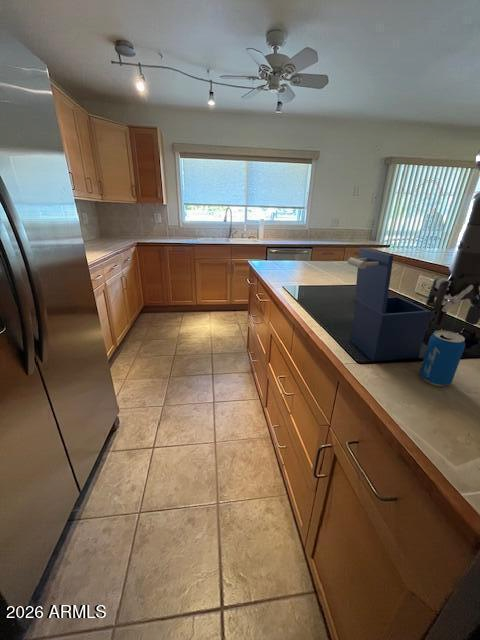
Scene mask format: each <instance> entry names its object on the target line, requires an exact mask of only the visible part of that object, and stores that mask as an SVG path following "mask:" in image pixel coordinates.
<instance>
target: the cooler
mask: <svg viewBox="0 0 480 640" xmlns="http://www.w3.org/2000/svg"><path fill="white" fill-rule="evenodd" d="M432 314H433V310H432V311H431V310H430V309H427V308H425V307H423V306H421V305H418V304H416V303H414V302H412V301H410V300H408V299H405V298H403V297H401V296H399V295H397V296H388V298H387V304H386V311H385V313H380V312H378V311H377V310H375V309H373V308H372V307H370V306H368V305H367V304H365V303H363V302H362V301H360V300H358V299H357V298H355V305H354V310H353V315H352V316H353V318H352V322H351V328H350V333H349V341H350V342H351V343H352V344H353V345H354V346H355V347H356V348H357V349H358V350H359V351H360V352H362V353H363V354H364V355H365V356H366V358H368V359H370V361H372V362H373V363H374V362H383V361H393V360H395V361H396V360H404V359H414V358H419V356H420V353H421V349H422V345H423V344H424V340H425V337H426V332H427V329H428V326H429V323H430V320H431V317H432Z"/></svg>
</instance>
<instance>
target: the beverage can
mask: <svg viewBox="0 0 480 640" xmlns="http://www.w3.org/2000/svg"><path fill="white" fill-rule="evenodd" d="M465 340H466V338H465V337H464V336H463V335H461V334H459V333H457V332H454V331H450V330H442V329H441V330H435V331H434V332H433V333H432V334H431V335H430V337H429V339H428V343H427V346H426V350H425V353H424V355H423V358H422V359H423V360H422V363H421V366H420V369H419V376H420V377H421V378H422V379H423V380H424V381H425V382H426V383H428V384H430V385H433V386H437V387H444V386H449V385H451V384H452V383H453V381H454V377H455V375H456V373H457V369H458V367H459V365H460V361H461V359H462V356H463V353H464V350H465V347H466V342H465Z"/></svg>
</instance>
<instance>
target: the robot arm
mask: <svg viewBox="0 0 480 640" xmlns="http://www.w3.org/2000/svg"><path fill="white" fill-rule="evenodd" d="M475 166H476V167H475V168H476V169H477V170H478V171H479V172H480V149H479V150H478V151H477V155H476V157H475ZM451 256H452V257H451V260H450V263H449V265H448V270H449V272H450V276H449V277H448V278H447V279H442V278H439V277H436V278H434V279H433V282H432V285H431V288H430V290H429V294H428V296H427V300H426V303H425V305H426V306H429V307H430V308H432V309H433V310H432V313H431V316H430V324H431V325H432V326H434V327H436V328H442V327H443V325H444V322H445V319H446V316H447V313H448V312H447V311H448V310H449V309H450V308H451V307H452V306H453V305H456V304H458V303H459V302H460V301H465V300H469V301H470V304H471V305H470V306H469V307H468V310H467V313H466V316H465V319H464V321H465V322H466V323H468V324H469V325H478V322H479V321H480V191H479V192H477V193H476V194H474V196H473V197H472V199H471V200H470V204H469V206H468V210H467V212H466V216H465V219H464V224H463V226H462V228H461V230H460V231H459V234H458V238H457V240H456V243H455V247H454V249H453V253H452V255H451ZM449 295H450V296H449Z"/></svg>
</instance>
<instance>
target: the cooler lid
mask: <svg viewBox="0 0 480 640" xmlns="http://www.w3.org/2000/svg"><path fill="white" fill-rule="evenodd" d="M393 262H394V255H393V254H390V253H386V252H382V251H379V250H374V249H372V248H371V249H370V248H367V247H359V251H358V258H356V257H352V256H351V257H349V258H347V264H348V265H350V266H353V267H356V268H357V272H356V283H355V293H354V298H355V299H358V300H360V301H362V302H363V303H365V304H367V305H368V306H370V307H372V308H373V309H375V310H377V311H378V312H380V313H385V311H386V304H387V298H388V297H389V292H390V291H389V290H390V285H391V284H390V283H391V277H392V271H393V264H394V263H393Z"/></svg>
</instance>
